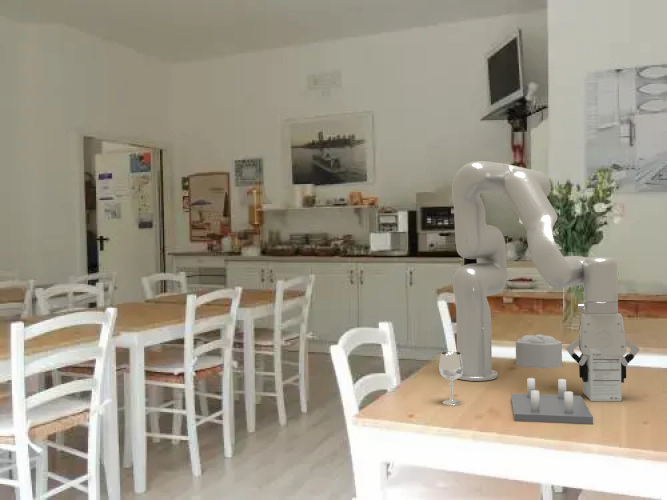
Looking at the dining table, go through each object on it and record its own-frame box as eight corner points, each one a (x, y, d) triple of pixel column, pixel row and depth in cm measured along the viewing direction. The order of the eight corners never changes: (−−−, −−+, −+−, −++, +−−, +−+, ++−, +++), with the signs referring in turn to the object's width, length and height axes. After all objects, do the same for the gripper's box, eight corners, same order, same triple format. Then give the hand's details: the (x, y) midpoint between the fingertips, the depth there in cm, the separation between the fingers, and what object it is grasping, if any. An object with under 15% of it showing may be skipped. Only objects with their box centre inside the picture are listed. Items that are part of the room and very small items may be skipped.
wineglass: (465, 400, 162) (464, 351, 162) (462, 406, 157) (461, 356, 157) (441, 399, 164) (441, 350, 164) (437, 405, 159) (436, 355, 158)
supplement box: (582, 393, 167) (581, 343, 166) (613, 393, 166) (612, 343, 165) (589, 401, 159) (589, 348, 159) (622, 401, 158) (621, 348, 158)
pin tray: (514, 420, 145) (514, 393, 145) (511, 399, 162) (510, 375, 162) (593, 424, 141) (592, 396, 141) (580, 401, 159) (580, 377, 159)
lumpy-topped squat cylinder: (520, 359, 210) (520, 332, 209) (563, 362, 204) (563, 334, 204) (514, 366, 200) (514, 337, 200) (559, 369, 195) (559, 340, 194)
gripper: (564, 310, 159) (566, 384, 159) (643, 309, 155) (645, 385, 156) (561, 306, 166) (562, 377, 167) (636, 306, 163) (637, 378, 163)
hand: (602, 380), depth 161 cm, fingers closed on supplement box, 7 cm apart
